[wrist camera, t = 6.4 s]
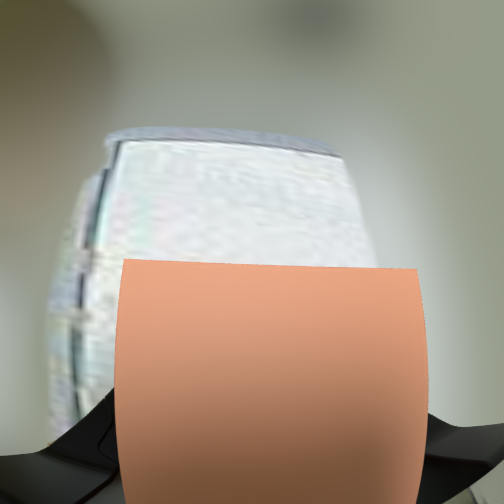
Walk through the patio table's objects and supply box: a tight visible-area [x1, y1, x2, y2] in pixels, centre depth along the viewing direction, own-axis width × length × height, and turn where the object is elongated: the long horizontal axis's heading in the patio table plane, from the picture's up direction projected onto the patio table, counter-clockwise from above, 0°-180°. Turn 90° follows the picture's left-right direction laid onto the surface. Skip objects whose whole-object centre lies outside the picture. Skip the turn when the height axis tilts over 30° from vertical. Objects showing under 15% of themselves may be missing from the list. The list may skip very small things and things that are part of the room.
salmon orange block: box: [114, 259, 428, 504], centre depth 8 cm, size 4×4×12 cm
